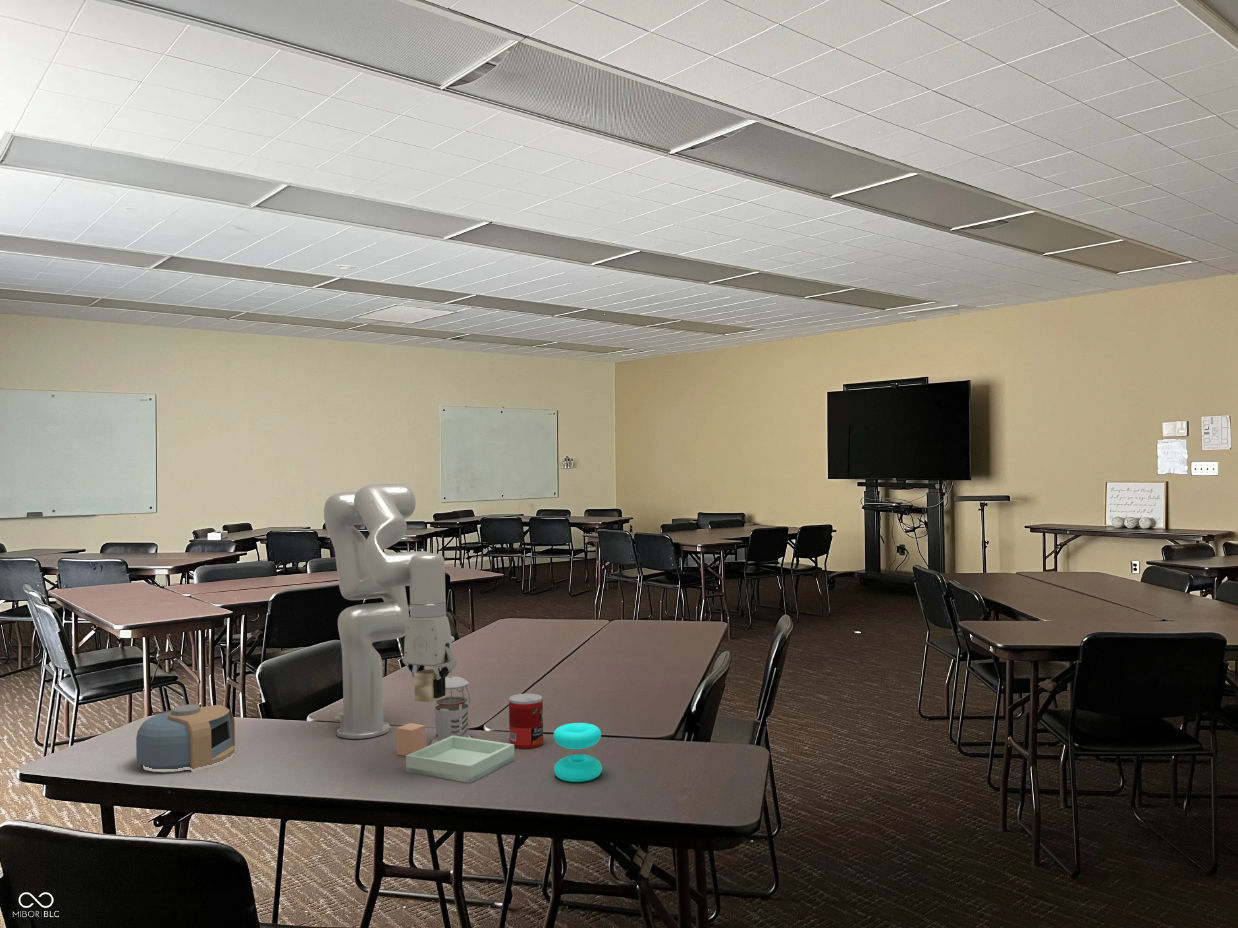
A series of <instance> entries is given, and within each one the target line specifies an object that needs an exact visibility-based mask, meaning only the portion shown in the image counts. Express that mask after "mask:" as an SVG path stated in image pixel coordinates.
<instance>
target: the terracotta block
mask: <svg viewBox="0 0 1238 928" xmlns="http://www.w3.org/2000/svg"><path fill="white" fill-rule="evenodd" d="M425 747H426V725H425V724H419V723H413V722H412V723H411V722H408V723H407V724H404V725H402V726H399V727H396V755H398V756H405V757H406V755H409V754H411V753H413V752H415V751H418V750H420V749H422V748H425Z"/></svg>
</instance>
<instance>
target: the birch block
mask: <svg viewBox="0 0 1238 928" xmlns="http://www.w3.org/2000/svg"><path fill="white" fill-rule="evenodd" d="M440 671H441V669H440ZM413 678H414V702H415V701H416V702H423V703H425V702H426V703H434V702H437V700H440V699H443V698H445V697H446V695H445V696H443V697H440V698H434V688H433V681H434V679H436V678H435V673H434V668H425V670H422V671H418V672H415V673H414V677H413Z"/></svg>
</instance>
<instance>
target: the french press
mask: <svg viewBox="0 0 1238 928" xmlns="http://www.w3.org/2000/svg"><path fill="white" fill-rule="evenodd" d="M451 639H452V642H455V637H454V636H452V635H451ZM452 670H453V669H452ZM452 670H451V671H450V675H448V676H447V677H445V689H446V690H450V696H445V698H443V699H440V700H437V701H436V704H437V705H436V706H434V707H435V715H434V718H435V737H434V739H432V741H431V745H432V744H434V743H436V742H439V741H441V740H443V739H446V738H448V737H450V736H460V737H467V738H473V737H472V736H471V735H470V733H469V732H470V731H469V713H468V712H469V709H470V703H471V698H470V697H471V696H470V695H471V694H470V690H469V688H468V687H467V686H468V685H469V681H468V680H466V679H465V678H463V677H460V676H453V673H452ZM464 688H465V689H466V690H467V692H468V693H467V694H468V704H467V703H466V702H467V698H466V697H465V694H464ZM459 689H460V690H459ZM453 690H456V691H457V692H459V693H461V692H462V696H453ZM460 705H461V708H460ZM441 709H442V710H441ZM443 709H444V710H443ZM445 709H446V710H445ZM460 719H461V720H460Z"/></svg>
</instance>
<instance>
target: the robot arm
mask: <svg viewBox="0 0 1238 928" xmlns="http://www.w3.org/2000/svg"><path fill="white" fill-rule="evenodd" d="M416 503H417V502H416V497H415V494H414V491H412V489H411V488H410V486H407V485H406V484H401V483H398V484H397V483H394V484H393V483H392V484H390V483H389V484H385V483H384V484H368V485H365V486H363V487H361V488H360V489H358V490H357V491H345V492H339V493H334V494H332V495H331V496H329V497H328V498H327V499H326V501H325V502H324V507H323V517H324V518H323V519H324V524H325V528H326V531H327V534H328V536H329V538H330V540H331V543H332V546H333V550H334V555H335V557H334V558H335V563H336V564H335V565H336V571H337V579H338V586H339V590H340V594H341V596H342V598H344V599H346V600H349V601H360V600H363V601H364V600H371V599H380V598H381V599H382V600H383V602H374V603H364V604H356V605H352V606H349V607H346V608H345V609H343V610H342V611H341V612H340V613H339V615H338V618H337V629H338V634H339V640H340V644H341V656H342V657H341V658H342V659H341V660H342V661H341V662H342V695H343V696H342V697H343V698H342V700H343V701H342V702H343V703H342V704H343V708H342V709H343V711H339V712H337V714H336V715H335V716H334V717H333V721H334V722H340V726H339V727H338V728H337V729H336V734H337V736H338V737H340V738H342V739H348V740H358V739H359V740H360V739H369V738H376V737H379V736H382V735H384V734H387V733H389V731H390V727H391V725H390V724H389V723H388V722H386V721H384V695H383V694H384V690H383V688H384V687H383V685H384V684H383V682H384V681H383V659H382V657H381V654H380V652H378V651H377V649H375V647H374V646H373V643H377V642H382V641H389V640H397V639H400V638H403V637H404V642H403V643H404V644H403V646H404V647H403V648H404V650H403V652H404V653H403V658H402V663H403V664H404V665H405V666H406V667H407V669H408V670H409V672H411V677H412V678H414V673H415V672H418V671H422V670H425V669H426V666H427V667H432V669H434V673H435V678H436V679H434V681H433V688H434V698H440V697H443V696H445V697H446V690H447V689H445V678H446V677H449V674H450V673H451V670H453V669H454V668H455V667H456V666H457V665H458V662H457V660H456V658H455V657H454V654H453V641H452V639H451V636H452V631H451V626H450V621H449V617H448V616H447V611H446V610H447V609H446V608H447V607H446V605H447V604H446V599H447V598H446V571H445V567H446V566H445V563H446V562H445V557H444V556H443V555H442V554H439V553H432V552H429V551H423V550H421V551H405V552H404V551H403V552H402V551H401V552H391V553H386V552H384V550H386V549H388V548H390V547H391V546H393V545H395V544H397V543H398V542H399V541H400V540H402V539H403V537H404V536H405V535H406V532H407V528H408V527H407V526H408V524H407V522H406V519H409V518H410V517H411V516H412V515H413V514H414V512H415V510H416ZM355 526H365V527H366V529H367V531H368V533H369V535H368V537H367V538H366V537H365V536H364V534H362V532H360V530H359V529H357V528H356V527H355ZM406 587H409V603H408V599H407V598H408V597H407V592H406V591H407V590H406ZM409 612H410V613H409ZM440 670H441V671H440Z"/></svg>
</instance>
